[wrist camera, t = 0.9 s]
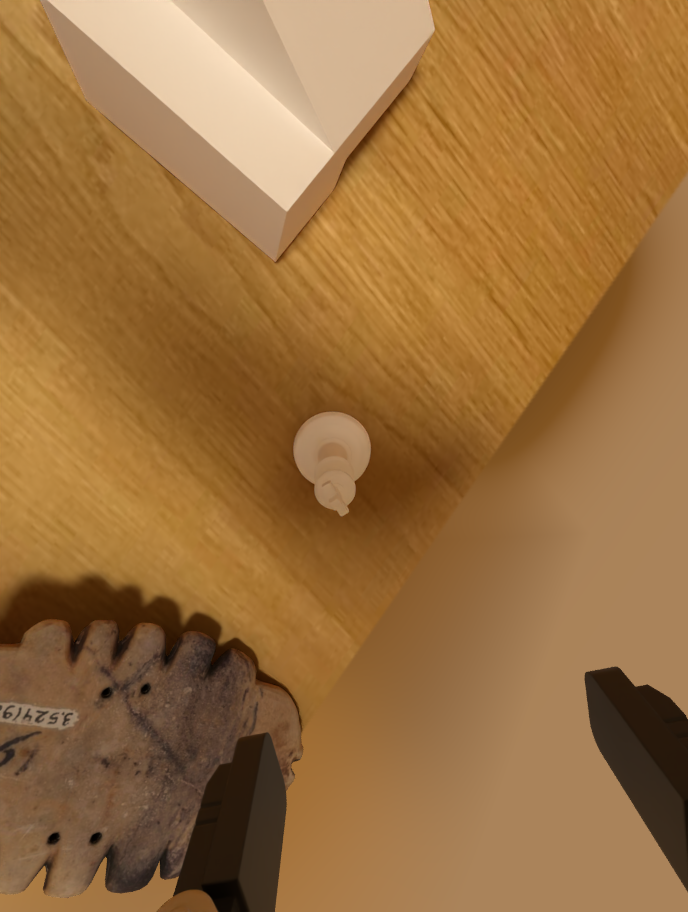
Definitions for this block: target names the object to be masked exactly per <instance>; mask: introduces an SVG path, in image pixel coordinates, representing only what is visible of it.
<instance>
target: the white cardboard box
mask: <svg viewBox="0 0 688 912" xmlns="http://www.w3.org/2000/svg"><path fill="white" fill-rule="evenodd" d="M40 1H41V3H42V6H43V8H44V10H45V12H46V14H47V16H48V19H49V21H50V23H51V25H52V27H53V29H54V32H55V34H56V36H57V38H58V40H59V43H60V45H61V47H62V49H63V51H64V53H65V56H66V58H67V60H68V62H69V64H70V66H71V69H72V71H73V73H74V75H75V77H76V79H77V82H78V84H79V86H80V88H81V90H82V92H83V95H84V97H85V99H86V101H88V102H89V103H90V104H91V105H92V106H93V107H95V108H96V109H97V110H98V111H99V112H100V113H102V114H103V115H104V116H105V117H106V118H107V119H109V120H110V121H111V122H112V123H113V124H114V125H116V126H117V127H118V128H119V129H120V130H121V131H123V132H124V133H125V134H126V135H127V136H129V137H130V138H131V139H132V140H133V141H134V142H136V143H137V144H138V145H139V146H140V147H141V148H143V149H144V150H145V151H146V152H147V153H148V154H150V155H151V156H152V157H153V158H154V159H155V160H157V161H158V162H159V163H160V164H161V165H162V166H164V167H165V168H166V169H167V170H168V171H169V172H171V173H172V174H173V175H174V176H175V177H176V178H178V179H179V180H180V181H181V182H182V183H183V184H185V185H186V186H187V187H188V188H189V189H191V190H192V191H193V192H194V193H195V194H196V195H198V196H199V197H200V198H201V199H202V200H203V201H205V202H206V203H207V204H208V205H209V206H210V207H212V208H213V209H214V210H215V211H216V212H217V213H219V214H220V215H221V216H222V217H223V218H224V219H226V220H227V221H228V222H229V223H230V224H231V225H233V226H234V227H235V228H236V229H237V230H238V231H240V232H241V233H242V234H243V235H244V236H245V237H247V238H248V239H249V240H250V241H251V242H253V243H254V244H255V245H256V246H257V247H258V248H260V249H261V250H262V251H263V252H264V253H265V254H267V255H268V256H269V257H270V258H271V259H272V260H274V261H275V262H276V261H277V259H278V258H279V257H280V256H281V254H282V253H283V252H284V251H285V249H286V248H287V247H288V246H289V244H290V243H291V242H292V241H293V239H294V238H295V237H296V236H297V235H298V233H299V232H300V231H301V230H302V228H303V227H304V226H305V225H306V223H307V222H308V221H309V220H310V218H311V217H312V216H313V215H314V213H315V212H316V211H317V210H318V208H319V207H320V206H321V205H322V204H323V202H324V201H325V200H326V199H327V197H328V196H329V195H330V194H331V192H332V191H333V190H334V188H335V185H336V183H337V180H338V178H339V175H340V173H341V171H342V168H343V166H344V163H345V161H346V159H347V157H348V156H349V155H350V154H351V152H352V151H353V150H354V149H355V147H356V146H357V145H358V144H359V142H360V141H361V140H362V139H363V138H364V136H365V135H366V134H367V133H368V131H369V130H370V129H371V128H372V126H373V125H374V124H375V123H376V121H377V120H378V119H379V118H380V117H381V115H382V114H383V113H384V112H385V110H386V109H387V108H388V107H389V105H390V104H391V103H392V102H393V100H394V99H395V98H396V97H397V96H398V94H399V93H400V92H401V91H402V89H403V88H404V87H405V86H406V84H407V83H408V82H409V81H410V79H411V77H412V75H413V73H414V71H415V69H416V67H417V65H418V63H419V61H420V59H421V57H422V55H423V53H424V51H425V49H426V47H427V45H428V43H429V41H430V39H431V37H432V35H433V33H434V31H435V27H434V23H433V19H432V14H431V10H430V6H429V1H428V0H40Z"/></svg>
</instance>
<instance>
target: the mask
mask: <svg viewBox="0 0 688 912" xmlns="http://www.w3.org/2000/svg"><path fill="white" fill-rule="evenodd" d="M215 648H216V643H215V641H214V639H212V638H211V637H209V636H208V635H207V634H204V633H201V632H198V631H187V632H185V633H183V634H182V635H181V636H180V637H179V639H178V640H177V642H176V643H175V645H174V646H173V648H172V650H171V651H170V653H169V655H168V656H167V655H166V634H165V632H164V630H163V629H162V628H161V627H160V626H159V625H156V624H153V623H138V624H137V625H136V626H135V627H134V628H132V629H131V630H130V631H129V632H128V634H127V635H126V636H125V638H124V639H123V640H122V641H120V640H119V628H118V624H117V623H116V622H115V621H113V620H96V621H93V622H91V623H90V624H89V625H88V626H86V627H85V628H84V629H83V630H82V631H81V633H80V635H79V636H78V638H77V639H76V640H75V642H74V640H73V636H72V631H71V627H70V625H69V624H68V623H67V622H66V621H63V620H56V619H48V620H44V621H41V622H39V623H37V624H35V625H34V626H32V627H31V628H30V629H29V630H28V631H26V632H25V634H24V636H23V638H22V640H21V642H20V643H17V644H0V893H2V894H18V893H20V892H22V891H24V890H25V889H26V888H27V887H28V886H29V884H30V883H31V882H32V880H33V879H34V878H35V876H36V875H37V874H38V872H39V871H40V870H41V869H42V868H43V866H45V867H46V872H47V874H46V879H45V882H44V887H43V890H44V893H45V894H46V895H48V896H52V897H60V898H69V897H72V896H76V895H79V894H81V893H82V892H83V891H85V890H86V889H87V887H88V886H89V885H90V883H91V882H92V880H93V878H94V876H95V874H96V872H97V870H98V868H99V866H100V864H101V862H102V861H103V859H104V858H105V856H106V858H107V868H106V878H105V885H106V888H107V890H108V891H110V892H114V893H127V892H133V891H136V890H140V889H141V888H143V887H144V886H146V885H147V884H148V883H149V881H150V880H151V878H152V877H153V875H154V872H155V870H156V868H157V866H158V863H159V861H160V877H161V878H162V879H165V880H166V879H172V878H176V877H178V876H179V875H180V871H181V868H182V865H183V861H184V858H185V855H186V851H187V848H188V844H189V841H190V838H191V834H192V831H193V828H194V826H195V821H196V817H197V814H198V811H199V809H200V804H201V801H202V797H203V794H204V790H205V787H206V784H207V782H208V781H209V780H210V778H211V777H212V775H213V774H214V772H215V771H216V769H217V768H218V766H219V765H220V764H225V763H231V762H232V759H233V755H234V751H235V747H236V744H237V741H238V739H239V738H240V737H245V736H250V735H255V734H261V733H266V732H268V733H269V734H270V736H271V738H272V741H273V745H274V748H275V751H276V755H277V758H278V761H279V765H280V768H281V772H282V775H283V778H284V782H285V788H286V790H287V789H288V787H289V786H290V785H291V783H292V782H293V780H294V778H295V774H294V773H293V771H292V769H291V764H292V763H293V762H294V761H298V760H300V759H301V757H302V754H303V746H302V744H301V726H300V722H299V714H298V711H297V709H296V707H295V704H294V702H293V700H292V698H291V697H290V696H289V694H288V693H287V692H286V691H285V690H284V689H282V688H280V687H279V686H276V685H273V684H269V683H265V682H262V681H259V680H257V679H256V668H255V665H254V662H253V661H252V660H251V659H250V658H249V657H248V656H247V655H246V654H244V653H243V652H241V651H239V650H236V649H229V650H227V651H226V652H225V653H224V654H222V655H221V656H220V657H219V658H218V659H217V660H216V661H215V662H214V663H213V664H211V660H212V658H213V655H214V653H215Z"/></svg>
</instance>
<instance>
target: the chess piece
mask: <svg viewBox="0 0 688 912" xmlns="http://www.w3.org/2000/svg"><path fill="white" fill-rule="evenodd" d="M293 454H294V459H295V462H296V465H297V467H298V469H299V471H300V472H301V474H302V475H303V476H304V477H305V478H306V479H307V480H308V481H310V482H311V483H313V484H315V487H314V492H315V496H316V498H317V500H318V501H319V503H320V504H321V505H323V506H324V507H326V508H329V509H333V510H334V511H335V510H337V512H338V513H339V515H340V516H341V517H342V516H343V515H345V514H347V513H349V509H348V507H347V505H348V504H350V503H351V501H352V500H353V498H354V496H355V492H356V487H355V483H354V481H356V480H357V479H358V478H359V477H360V476H361V475H362V474H363V473H364V471H365V469H366V468H367V465H368V463H369V459H370V454H371V444H370V439H369V436H368V434H367V432H366V430H365V428H364V427H363V426H362V425H361V423H360V422H358V421H357V420H356V419H355V418H353V417H351V416H349V415H347V414H345V413H341V412H324V413H320V414H317V415H315V416H313V417H311V418H310V419H308V420H307V421H306V422H305V423H304V424H303V425H302V426H301V427H300V429H299V430H298V432H297V434H296V437H295V440H294V445H293Z"/></svg>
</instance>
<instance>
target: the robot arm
mask: <svg viewBox="0 0 688 912" xmlns="http://www.w3.org/2000/svg"><path fill="white" fill-rule="evenodd" d="M585 685H586V694H587V702H588V709H589V718H590V724H591V729H592V732H593V736H594V738H595V741H596V743H597V746H598V748H599V750H600V752H601V753H602V755H603V756H604V758H605V760H606V761H607V763H608V765H609V766H610V768H611V770H612V771H613V773H614V774H615V776H616V777H617V779H618V781H619V782H620V784H621V786H622V787H623V789H624V790H625V792H626V794H627V795H628V797H629V798H630V800H631V801H632V803H633V805H634V806H635V808H636V810H637V811H638V813H639V814H640V816H641V818H642V819H643V821H644V822H645V824H646V825H647V827H648V829H649V830H650V832H651V834H652V835H653V837H654V838H655V840H656V842H657V843H658V845H659V847H660V848H661V850H662V851H663V853H664V854H665V856H666V858H667V859H668V861H669V863H670V864H671V866H672V867H673V869H674V870H675V872H676V874H677V875H678V877H679V879H680V880H681V882H682V883H683V885H684V887H685V888H686V890H687V891H688V719H687V717H686V715H685V714H684V713H683V712H682V711H681V710H680V708H679V707H678V706H677V705H676V704H675V703H674V702H673V701H672V700H671V699H670V698H669V697H667V696H666V695H664V694H663V693H661V692H659V691H658V690H656V689H654V688H652V687H651V686H649V685H643V686H638V687H635V686H634V685H633V684H632V682H631V681H630V680H629V679H628V678H627V676H626V675H625V674H624V673H623V672H622V670H621V669H620V668H618V667H611V668H606V669H601V670H595V671H590V672H586V673H585ZM285 816H286V788H285V782H284V778H283V775H282V772H281V768H280V765H279V761H278V758H277V755H276V751H275V748H274V745H273V741H272V738H271V736H270V734H269V733H268V732H266V733H261V734H255V735H250V736H245V737H240V738H239V739H238V741H237V744H236V747H235V751H234V755H233V759H232V762H231V763H225V764H220V765H219V766H218V768H217V769H216V771H215V772H214V774H213V775H212V777H211V778H210V780H209V781H208V782H207V784H206V787H205V790H204V794H203V797H202V801H201V804H200V809H199V811H198V814H197V817H196V821H195V826H194V828H193V831H192V834H191V838H190V841H189V844H188V848H187V851H186V855H185V858H184V861H183V865H182V868H181V871H180V875H179V878H178V882H177V885H176V888H175V892H174V895H173V897H172V898H170V899H169V900H168V901H167V902H165V903H164V904H163V905H162V906H161V907H160V908H159V909H158V911H157V912H275V905H276V896H277V887H278V878H279V869H280V860H281V852H282V843H283V834H284V825H285Z"/></svg>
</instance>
